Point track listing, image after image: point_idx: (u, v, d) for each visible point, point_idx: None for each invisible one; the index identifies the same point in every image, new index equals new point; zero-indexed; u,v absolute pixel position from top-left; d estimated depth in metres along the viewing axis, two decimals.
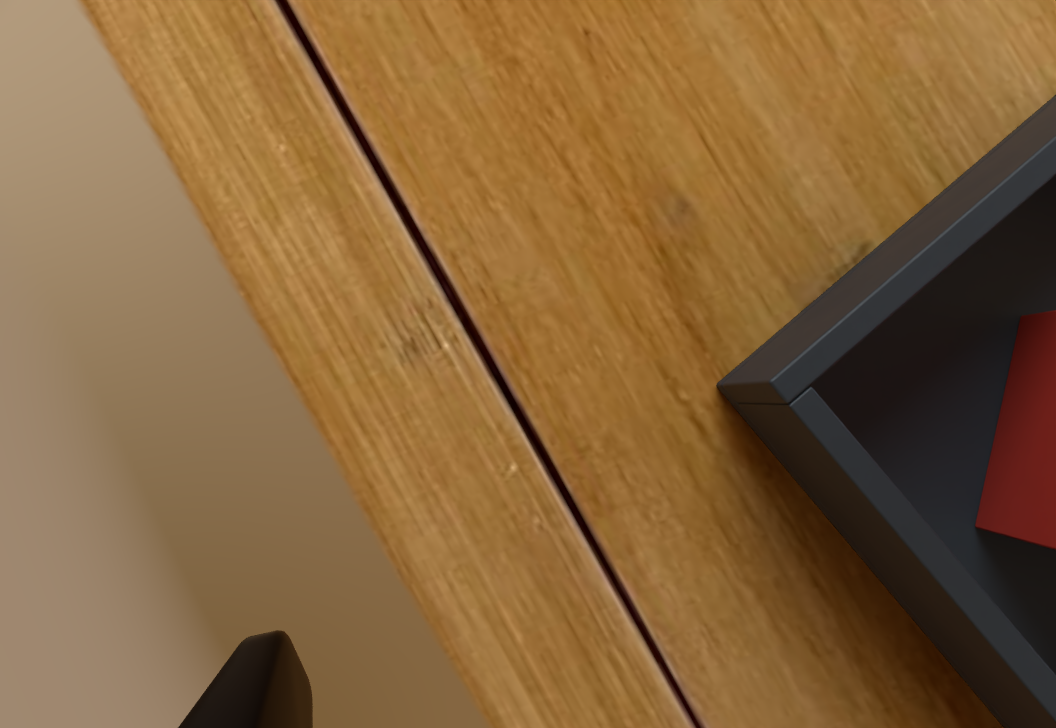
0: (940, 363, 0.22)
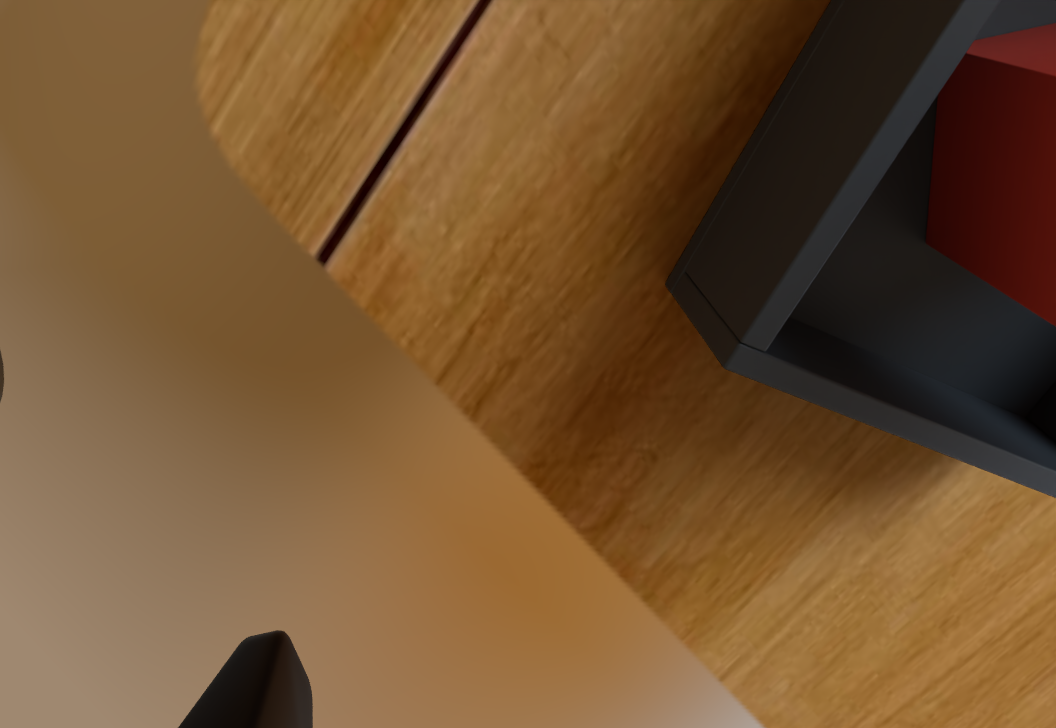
0: None
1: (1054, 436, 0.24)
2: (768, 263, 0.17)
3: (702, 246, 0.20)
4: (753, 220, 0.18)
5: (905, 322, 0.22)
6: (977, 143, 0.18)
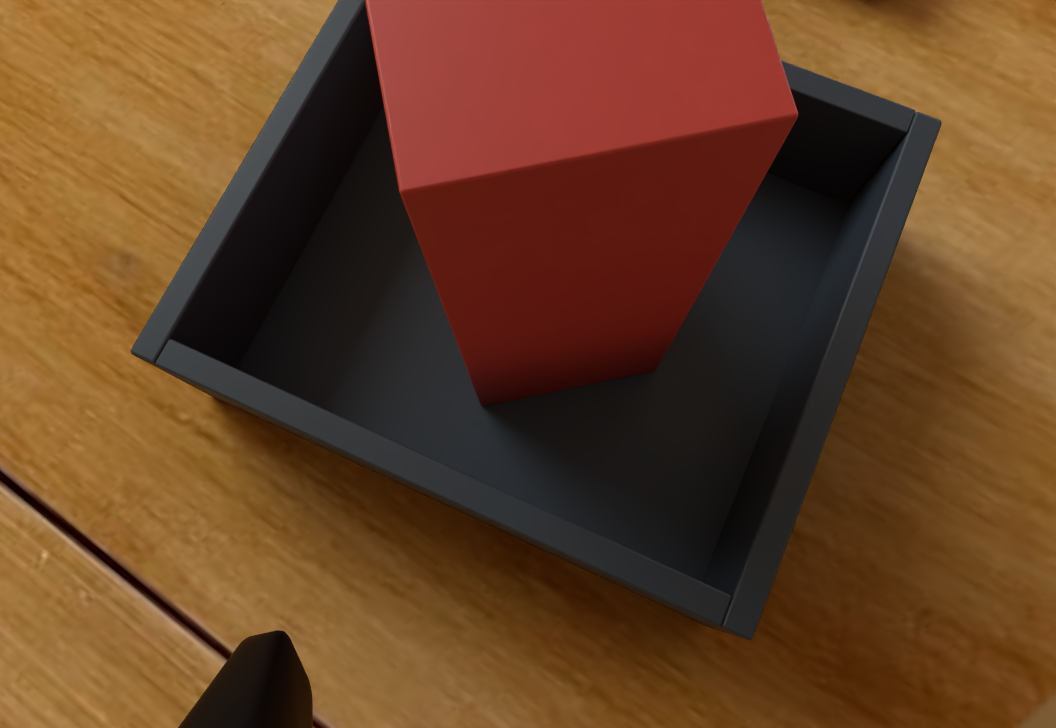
0: (390, 282, 0.23)
1: (859, 183, 0.22)
2: (644, 592, 0.18)
3: (660, 603, 0.21)
4: (618, 582, 0.19)
5: (740, 367, 0.22)
6: (547, 379, 0.21)
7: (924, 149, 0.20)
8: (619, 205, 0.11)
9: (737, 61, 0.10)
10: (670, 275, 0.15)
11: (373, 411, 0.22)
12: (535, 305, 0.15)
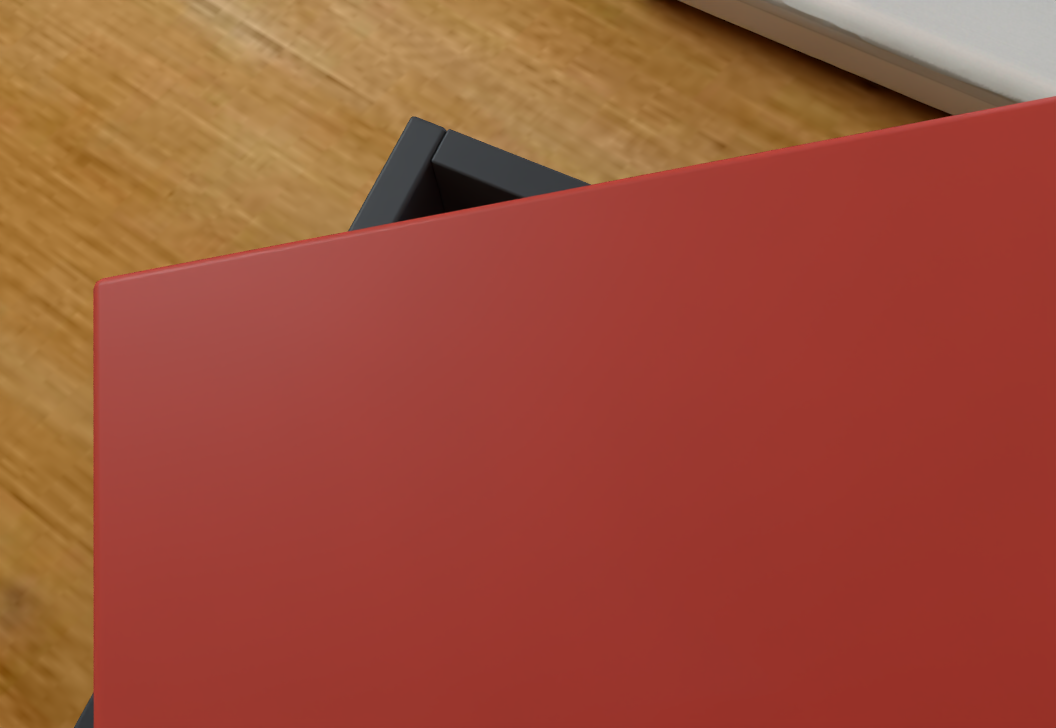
0: None
1: None
2: None
3: None
4: None
5: None
6: None
7: None
8: None
9: None
10: None
11: None
12: None
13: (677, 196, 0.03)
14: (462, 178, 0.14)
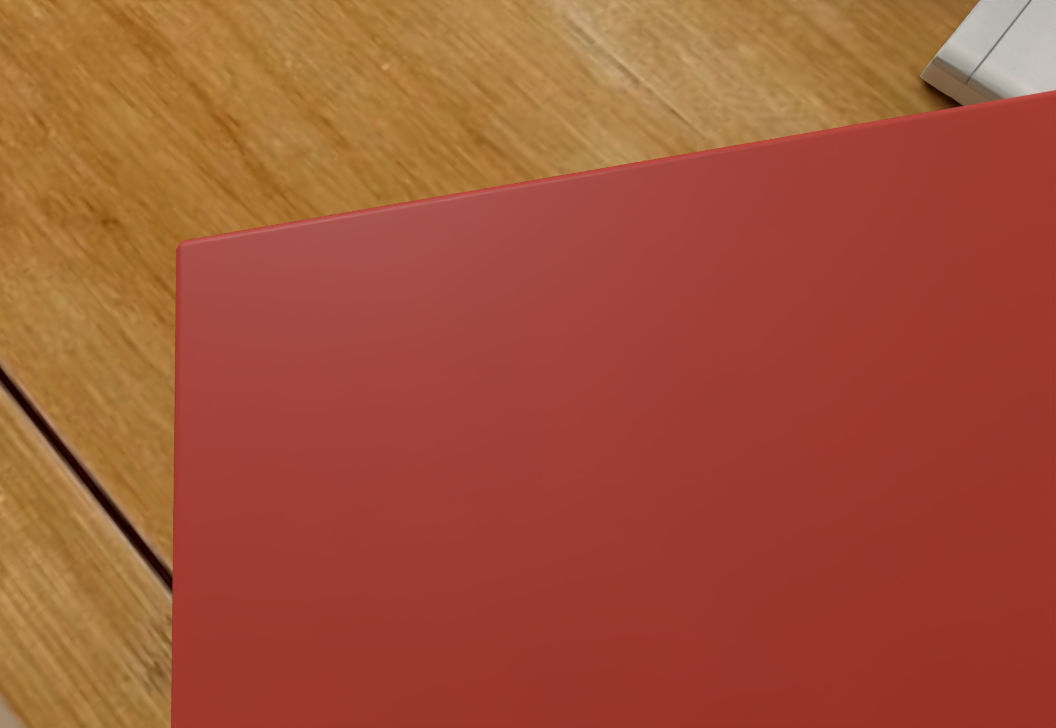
0: None
1: None
2: None
3: None
4: None
5: None
6: None
7: None
8: None
9: None
10: None
11: None
12: None
13: (717, 174, 0.03)
14: None
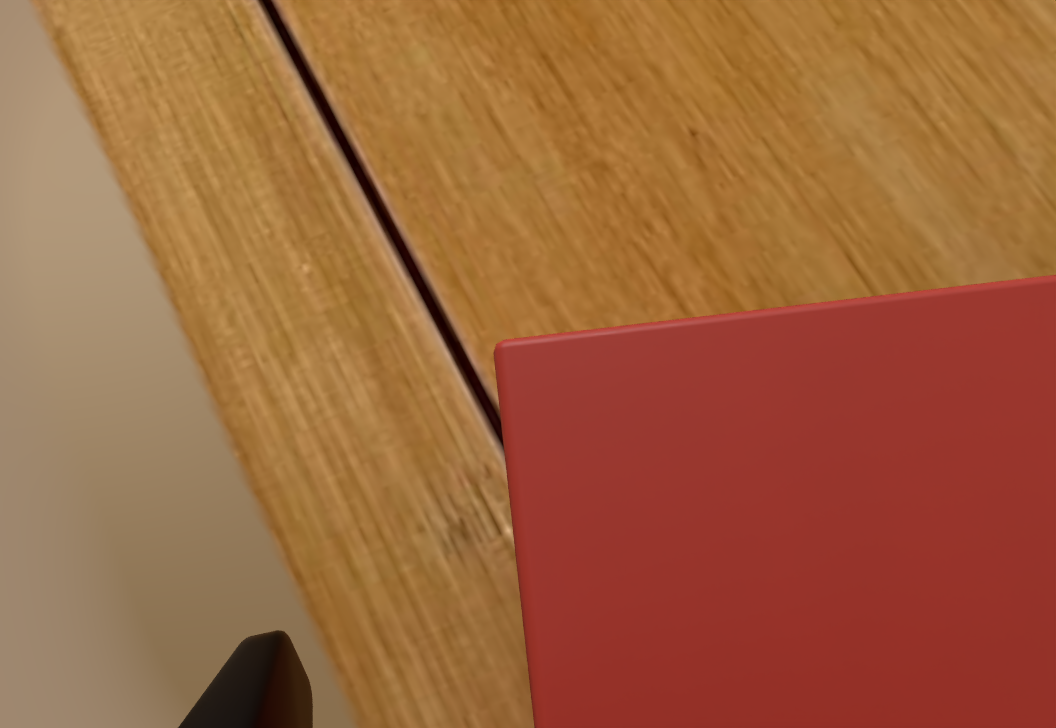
0: None
1: None
2: None
3: None
4: None
5: None
6: None
7: None
8: None
9: None
10: None
11: None
12: None
13: (1047, 304, 0.04)
14: None
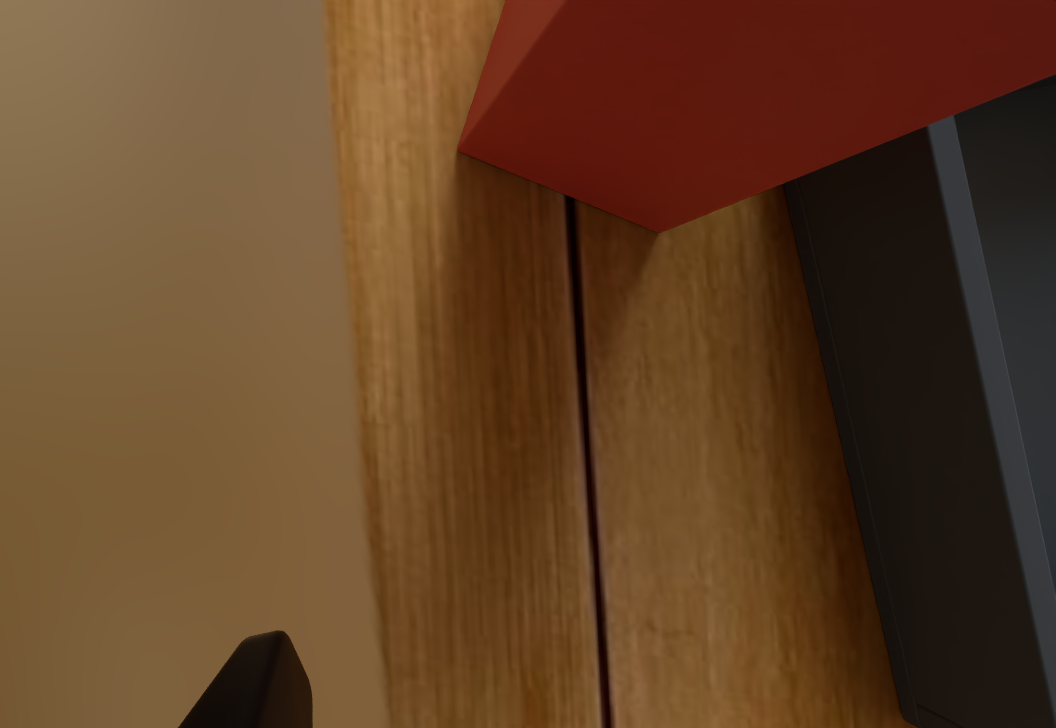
0: (978, 211, 0.20)
1: None
2: (1016, 687, 0.16)
3: (915, 675, 0.19)
4: (952, 642, 0.18)
5: None
6: (560, 163, 0.16)
7: None
8: None
9: None
10: (870, 105, 0.11)
11: None
12: (700, 29, 0.10)
13: None
14: None
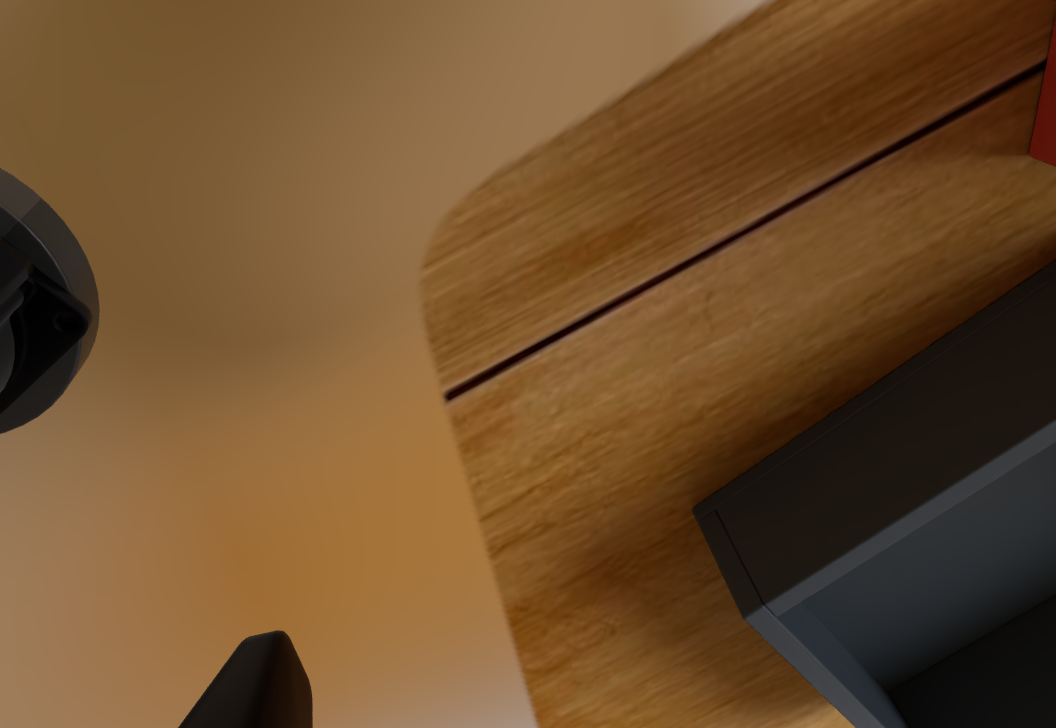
0: None
1: (907, 717, 0.30)
2: (803, 552, 0.22)
3: (739, 499, 0.25)
4: (795, 506, 0.23)
5: (843, 599, 0.28)
6: None
7: None
8: None
9: None
10: None
11: None
12: None
13: None
14: None
